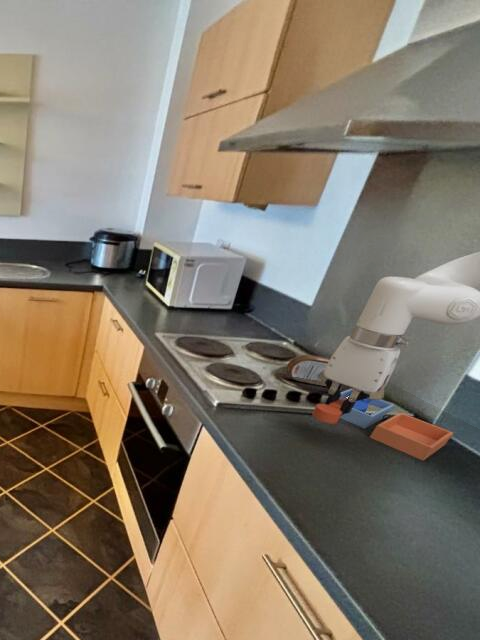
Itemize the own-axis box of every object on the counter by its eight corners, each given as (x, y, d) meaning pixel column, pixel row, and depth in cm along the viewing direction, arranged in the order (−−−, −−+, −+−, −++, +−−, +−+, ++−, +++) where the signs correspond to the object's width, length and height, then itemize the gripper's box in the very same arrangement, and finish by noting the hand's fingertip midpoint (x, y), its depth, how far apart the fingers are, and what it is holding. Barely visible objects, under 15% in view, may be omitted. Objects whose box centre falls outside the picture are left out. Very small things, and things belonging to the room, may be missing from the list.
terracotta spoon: (354, 413, 96) (360, 403, 95) (331, 425, 91) (337, 414, 90) (331, 404, 99) (336, 394, 98) (308, 415, 94) (313, 404, 93)
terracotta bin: (444, 444, 98) (453, 432, 96) (423, 460, 91) (432, 448, 90) (392, 424, 105) (400, 412, 104) (369, 437, 99) (377, 425, 97)
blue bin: (387, 416, 109) (395, 404, 107) (364, 428, 102) (372, 416, 101) (344, 399, 116) (350, 388, 114) (320, 409, 110) (326, 398, 108)
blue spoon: (382, 400, 109) (386, 391, 107) (358, 419, 105) (362, 410, 104) (361, 392, 112) (365, 384, 111) (337, 410, 109) (341, 402, 107)
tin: (338, 386, 123) (352, 361, 119) (343, 391, 121) (357, 365, 117) (281, 376, 127) (292, 351, 123) (284, 381, 124) (296, 355, 121)
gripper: (431, 348, 83) (384, 425, 91) (339, 323, 95) (305, 393, 103) (417, 353, 79) (370, 433, 88) (323, 327, 92) (289, 399, 100)
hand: (335, 411), depth 96 cm, fingers closed on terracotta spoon
